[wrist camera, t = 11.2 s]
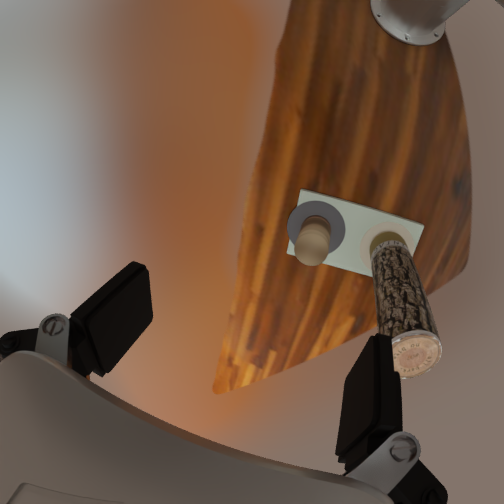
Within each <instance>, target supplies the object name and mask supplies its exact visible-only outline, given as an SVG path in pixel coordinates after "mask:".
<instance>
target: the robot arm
mask: <svg viewBox="0 0 504 504" xmlns="http://www.w3.org/2000/svg"><path fill="white" fill-rule="evenodd" d="M468 1H469V0H371V2H370V6H371V11H372V14H373V16H374V18H375V20H376V21H377V23H378V24H379V25H380V26H381V28H382V29H383V30H384V31H386V32H387V33H388V34H389V35H391V36H392V37H393V38H395V39H397V40H399V41H401V42H404V43H406V44H410V45H414V46H426V45H430V44H433V43H434V42H436V41H437V40H439V39H440V38H441V36H442V35H443V33H444V30H445V20H447V19H448V18H449V17H450V16H451V15H453V14H454V13H455V12H456V11H458V10H459V9H460V8H461V7H462V6H463V5H465V4H466V3H467V2H468ZM495 1H497V2H498V3H499V4H500V5H501V6H502V7H504V0H495ZM378 15H379V16H380V17H378ZM434 35H436V37H435V36H434ZM405 38H407V40H406V39H405ZM70 315H71V318H69V319H68V318H67V317H66V316H65V315H62V314H51V315H49V316H47V317H46V318H44V319H43V320H42V321H41V323H40V326H39V328H35V329H27V330H19V331H11V332H8V333H6V334H4V335H3V336H2V337H1V338H0V504H447V500H448V494H447V490H446V489H445V487H444V486H443V485H442V484H441V483H440V482H439V481H438V479H437V478H435V476H434V475H433V474H432V473H431V472H430V471H429V470H428V469H427V468H426V467H425V466H424V465H423V463H422V462H421V461H420V460H419V457H420V453H421V448H420V444H419V441H418V440H417V439H416V437H415V436H413V435H412V434H410V433H408V432H403V429H402V428H403V426H402V397H401V383H400V382H401V381H400V374H399V372H398V371H394V359H393V348H392V339H391V336H388V335H384V334H380V333H377V334H376V335H375V336H371V337H370V338H369V340H368V342H367V343H366V345H365V347H364V349H363V350H362V352H361V354H360V356H359V357H358V359H357V361H356V362H355V364H354V366H353V367H352V369H351V371H350V372H349V374H348V375H347V377H346V380H345V384H344V392H343V402H342V410H341V417H340V426H339V432H338V438H337V445H336V452H335V454H336V455H337V456H339V458H338V462H339V463H345V470H346V472H344V473H343V474H342V475H337V474H333V473H328V472H323V471H318V470H313V469H308V468H304V467H299V466H294V465H290V464H286V463H283V462H279V461H274V460H271V459H266V458H263V457H260V456H256V455H253V454H249V453H246V452H243V451H240V450H237V449H234V448H231V447H227V446H225V445H222V444H219V443H216V442H213V441H211V440H208V439H205V438H203V437H200V436H198V435H195V434H192V433H190V432H188V431H185V430H183V429H181V428H178V427H176V426H174V425H172V424H169V423H167V422H165V421H163V420H161V419H159V418H156V417H154V416H152V415H150V414H148V413H146V412H144V411H142V410H140V409H138V408H137V407H135V406H133V405H131V404H129V403H127V402H125V401H123V400H122V399H120V398H118V397H116V396H115V395H113V394H111V393H109V392H108V391H106V390H104V389H103V388H101V387H99V386H98V385H96V384H94V383H93V382H91V381H90V373H91V372H92V371H93V372H94V373H96V374H97V375H99V376H101V377H103V376H104V375H105V373H109V372H110V371H111V370H112V369H113V368H114V367H115V365H116V364H117V363H118V362H119V360H120V359H121V358H122V357H123V356H124V354H125V353H126V352H127V351H128V350H129V348H130V347H131V346H132V345H133V344H134V342H135V341H136V340H137V339H138V338H139V336H140V335H141V334H142V333H143V332H144V330H145V329H146V328H147V327H148V326H149V324H150V323H151V322H152V319H153V311H152V302H151V292H150V280H149V271H148V270H147V269H146V266H145V265H143V264H140V263H138V262H134V261H133V262H131V263H129V264H128V265H127V266H126V267H125V268H123V269H122V270H121V271H120V272H119V273H117V274H116V275H115V276H114V277H113V278H111V279H110V280H109V281H108V282H107V283H105V284H104V285H103V286H102V287H101V288H100V289H99V290H97V291H96V292H95V293H94V294H93V295H92V296H90V298H88V299H87V300H86V301H85V302H84V303H83V304H81V305H80V306H79V307H78V308H77V309H76V310H75V311H74V312H73V313H71V314H70Z"/></svg>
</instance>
